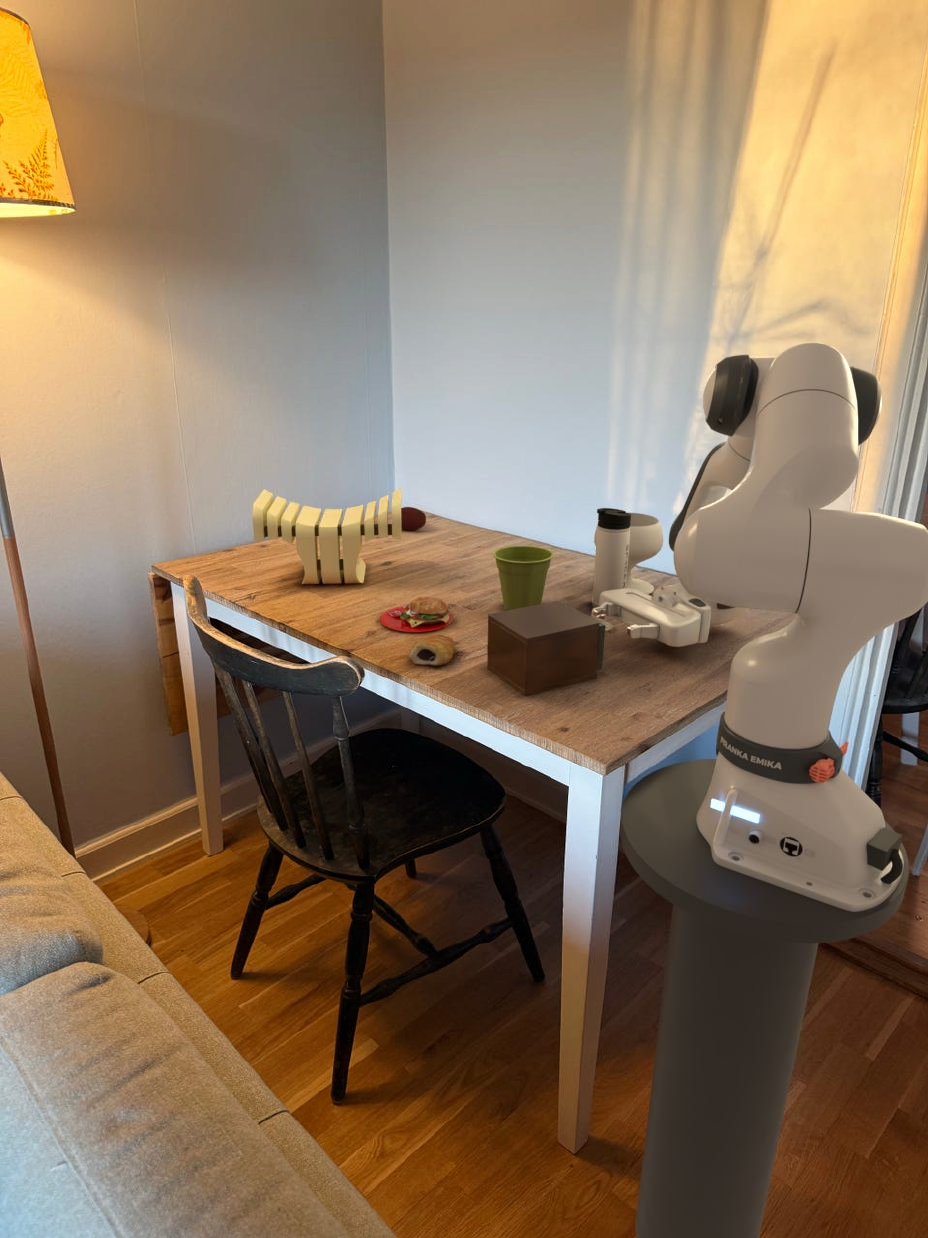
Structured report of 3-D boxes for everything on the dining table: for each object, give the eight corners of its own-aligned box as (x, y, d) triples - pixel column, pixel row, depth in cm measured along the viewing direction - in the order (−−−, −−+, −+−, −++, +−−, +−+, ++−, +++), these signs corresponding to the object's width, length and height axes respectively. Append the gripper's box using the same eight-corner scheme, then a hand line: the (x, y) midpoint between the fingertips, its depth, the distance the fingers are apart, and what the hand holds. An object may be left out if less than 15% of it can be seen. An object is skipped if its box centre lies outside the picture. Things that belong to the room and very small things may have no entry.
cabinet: (554, 652, 143) (557, 600, 139) (596, 678, 133) (599, 622, 130) (487, 668, 136) (487, 614, 133) (525, 696, 127) (526, 638, 123)
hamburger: (439, 603, 165) (438, 574, 163) (464, 627, 153) (464, 597, 151) (371, 612, 161) (370, 582, 158) (391, 638, 148) (390, 606, 146)
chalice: (654, 603, 166) (661, 530, 160) (585, 595, 170) (589, 524, 164) (662, 582, 178) (668, 514, 172) (597, 575, 182) (602, 508, 177)
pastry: (427, 643, 146) (427, 623, 145) (463, 648, 144) (464, 628, 143) (407, 664, 138) (407, 643, 136) (445, 670, 136) (445, 648, 134)
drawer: (585, 642, 144) (587, 600, 142) (623, 664, 136) (626, 620, 133) (503, 661, 137) (504, 617, 134) (538, 685, 128) (540, 639, 126)
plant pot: (556, 600, 167) (558, 547, 163) (545, 621, 156) (548, 564, 152) (499, 595, 170) (500, 542, 166) (485, 615, 159) (486, 559, 155)
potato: (411, 524, 223) (411, 502, 221) (431, 530, 216) (431, 508, 214) (388, 528, 218) (388, 506, 216) (409, 535, 212) (408, 512, 210)
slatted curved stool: (259, 589, 173) (251, 506, 166) (270, 566, 187) (264, 489, 181) (402, 587, 174) (400, 504, 168) (403, 564, 189) (400, 487, 183)
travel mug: (585, 604, 165) (591, 506, 158) (615, 600, 167) (622, 503, 160) (599, 614, 160) (605, 513, 152) (629, 611, 161) (637, 511, 154)
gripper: (636, 576, 152) (575, 587, 146) (717, 610, 135) (652, 625, 129) (634, 608, 154) (573, 621, 148) (713, 645, 138) (649, 662, 132)
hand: (611, 623), depth 139 cm, fingers open, 8 cm apart
